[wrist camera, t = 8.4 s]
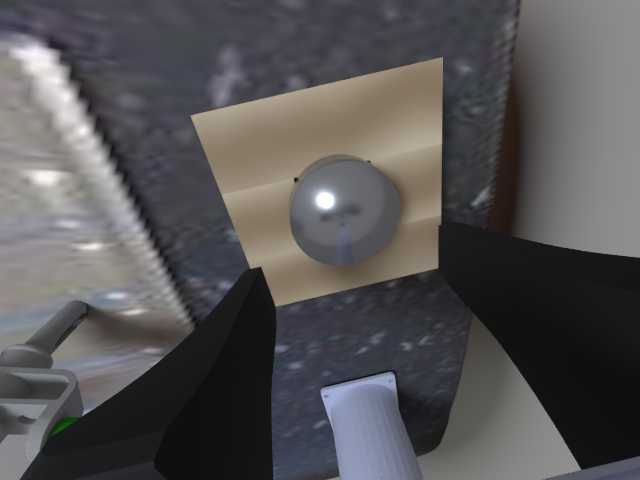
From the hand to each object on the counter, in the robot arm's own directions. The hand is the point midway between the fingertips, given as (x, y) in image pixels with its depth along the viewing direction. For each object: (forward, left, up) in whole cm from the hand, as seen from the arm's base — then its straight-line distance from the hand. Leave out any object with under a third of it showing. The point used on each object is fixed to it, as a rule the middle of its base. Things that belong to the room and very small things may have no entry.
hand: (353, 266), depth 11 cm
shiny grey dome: (+1, 0, -9) cm, 9 cm away
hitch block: (+1, 0, -9) cm, 9 cm away
